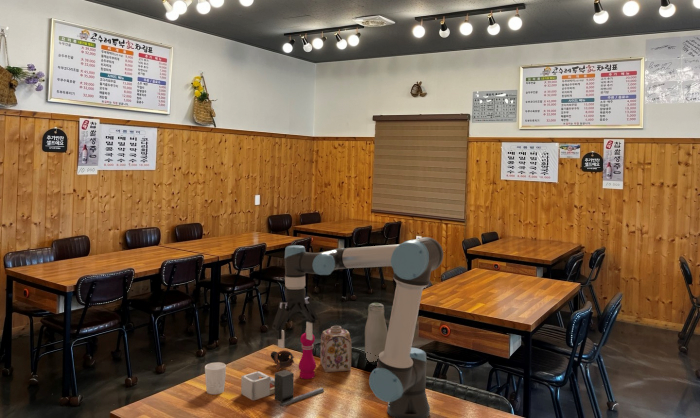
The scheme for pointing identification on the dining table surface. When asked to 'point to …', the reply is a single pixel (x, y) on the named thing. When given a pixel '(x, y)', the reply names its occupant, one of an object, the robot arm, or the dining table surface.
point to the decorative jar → (335, 350)
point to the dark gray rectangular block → (283, 385)
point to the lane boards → (272, 390)
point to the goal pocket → (255, 385)
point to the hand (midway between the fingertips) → (295, 343)
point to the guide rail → (301, 397)
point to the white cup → (215, 377)
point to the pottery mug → (282, 359)
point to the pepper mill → (307, 358)
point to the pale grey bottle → (375, 332)
